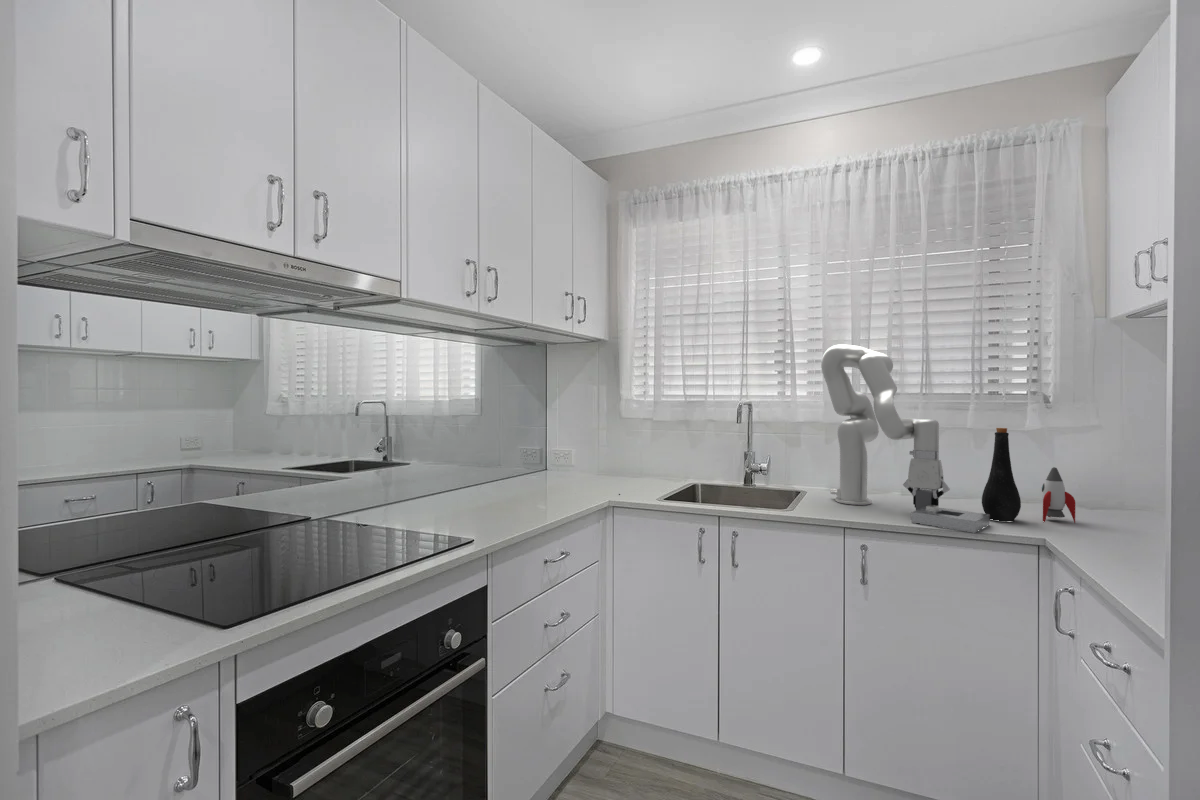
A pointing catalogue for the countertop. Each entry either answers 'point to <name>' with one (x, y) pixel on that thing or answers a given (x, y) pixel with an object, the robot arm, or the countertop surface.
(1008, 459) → the bottle
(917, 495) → the plug
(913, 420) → the robot arm
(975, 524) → the socket plate
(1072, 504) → the toy
